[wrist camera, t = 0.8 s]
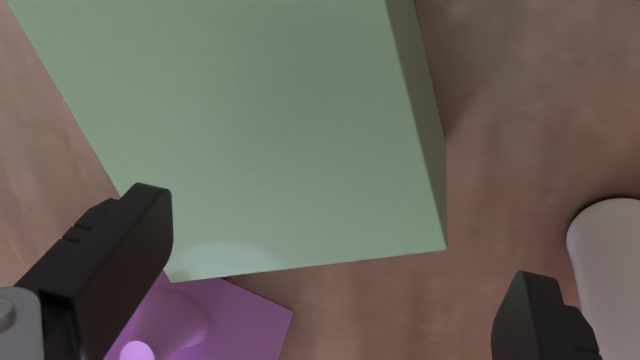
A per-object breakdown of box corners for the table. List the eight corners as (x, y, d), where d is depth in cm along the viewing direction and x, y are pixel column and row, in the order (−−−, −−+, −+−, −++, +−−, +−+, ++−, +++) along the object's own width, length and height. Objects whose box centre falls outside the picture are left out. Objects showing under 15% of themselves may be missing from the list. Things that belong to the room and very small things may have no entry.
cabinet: (128, -52, 27) (-3, -12, 19) (381, -148, 23) (348, -149, 15) (234, 182, 34) (170, 283, 26) (445, 142, 29) (447, 250, 21)
